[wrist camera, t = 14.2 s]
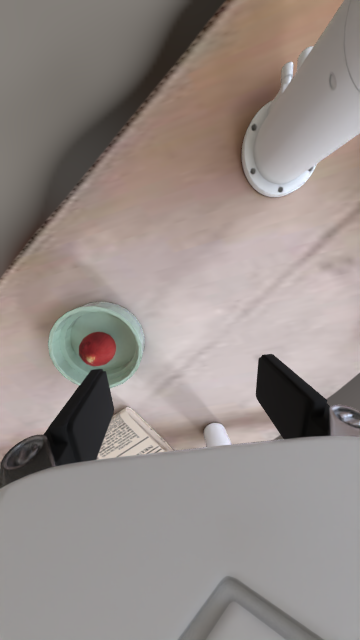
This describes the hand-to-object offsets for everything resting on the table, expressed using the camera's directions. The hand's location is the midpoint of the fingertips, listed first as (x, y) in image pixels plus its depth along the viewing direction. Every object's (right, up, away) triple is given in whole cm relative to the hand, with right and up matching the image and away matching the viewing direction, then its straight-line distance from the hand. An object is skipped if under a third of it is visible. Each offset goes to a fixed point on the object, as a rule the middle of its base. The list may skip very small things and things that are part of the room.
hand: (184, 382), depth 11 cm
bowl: (-15, 0, +24) cm, 28 cm away
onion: (-15, 0, +24) cm, 28 cm away
